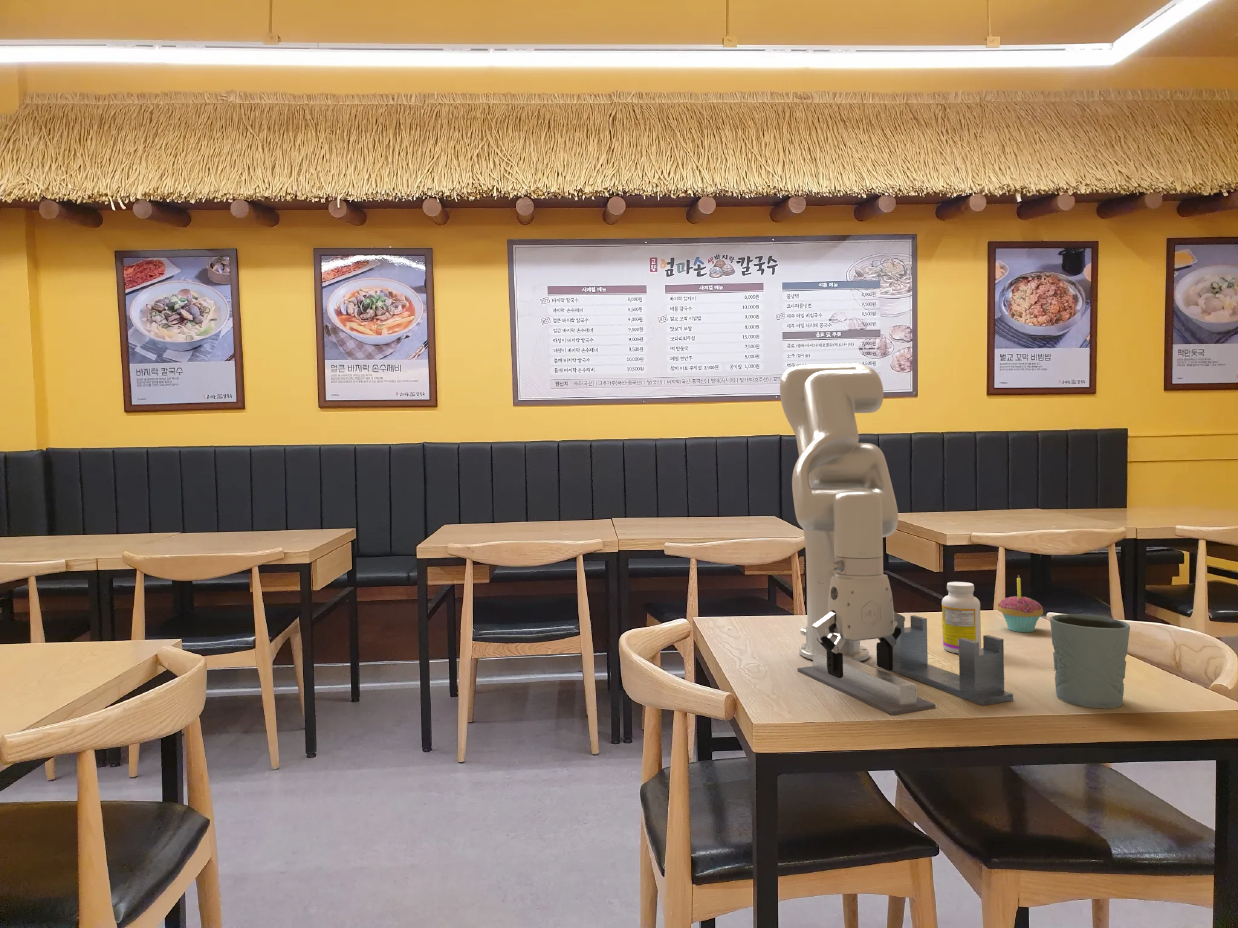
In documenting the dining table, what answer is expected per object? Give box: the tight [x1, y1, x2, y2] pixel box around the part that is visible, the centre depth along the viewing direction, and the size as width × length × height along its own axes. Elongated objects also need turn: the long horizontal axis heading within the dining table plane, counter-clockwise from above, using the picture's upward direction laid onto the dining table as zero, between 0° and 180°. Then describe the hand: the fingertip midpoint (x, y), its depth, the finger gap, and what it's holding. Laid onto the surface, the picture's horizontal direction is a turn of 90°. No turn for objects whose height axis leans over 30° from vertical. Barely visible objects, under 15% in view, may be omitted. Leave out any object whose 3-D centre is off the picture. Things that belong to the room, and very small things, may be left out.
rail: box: [812, 649, 918, 707], centre depth 118 cm, size 22×3×3 cm, turn 20°
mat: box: [796, 665, 937, 716], centre depth 118 cm, size 24×8×1 cm, turn 20°
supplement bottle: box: [941, 581, 982, 655], centre depth 139 cm, size 7×7×13 cm
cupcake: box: [997, 574, 1044, 633], centre depth 155 cm, size 9×8×12 cm
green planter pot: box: [1049, 613, 1131, 709], centre depth 111 cm, size 10×10×12 cm
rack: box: [892, 614, 1014, 706], centre depth 120 cm, size 22×6×9 cm, turn 20°
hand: (860, 672), depth 118 cm, fingers open, 9 cm apart
